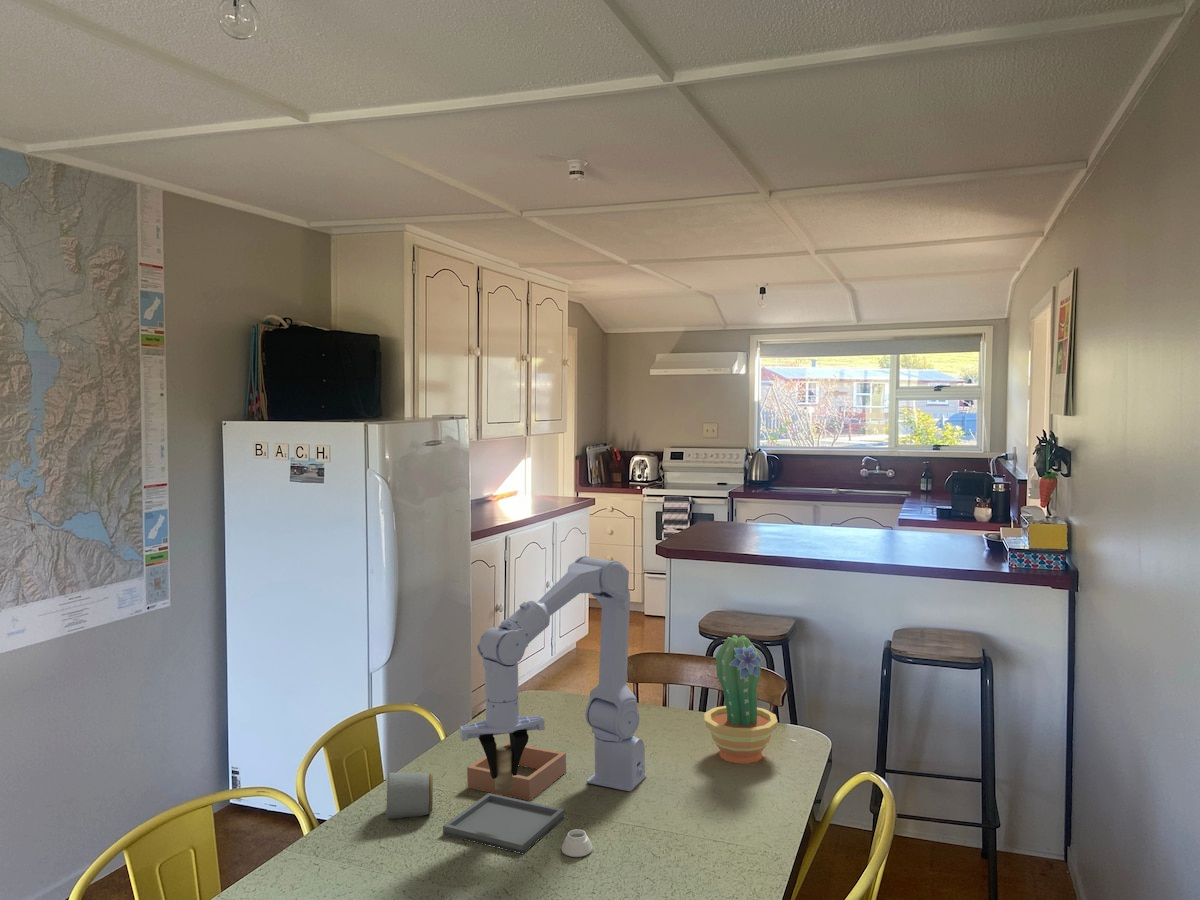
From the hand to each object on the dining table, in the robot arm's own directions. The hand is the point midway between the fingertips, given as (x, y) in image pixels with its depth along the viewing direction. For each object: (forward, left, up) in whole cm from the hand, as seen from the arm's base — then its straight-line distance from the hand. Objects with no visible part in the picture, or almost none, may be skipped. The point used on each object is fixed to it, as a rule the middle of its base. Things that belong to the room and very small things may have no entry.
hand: (503, 774), depth 148 cm
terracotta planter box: (+8, -17, -9) cm, 21 cm away
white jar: (-15, +2, -10) cm, 18 cm away
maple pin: (0, 0, -2) cm, 2 cm away
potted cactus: (-28, -47, -9) cm, 56 cm away
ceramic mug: (+19, +2, -9) cm, 21 cm away
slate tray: (0, 0, -9) cm, 9 cm away
